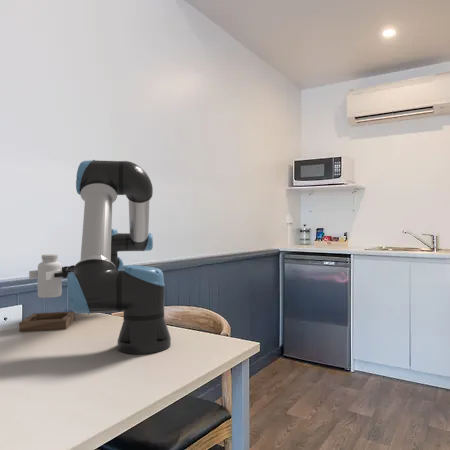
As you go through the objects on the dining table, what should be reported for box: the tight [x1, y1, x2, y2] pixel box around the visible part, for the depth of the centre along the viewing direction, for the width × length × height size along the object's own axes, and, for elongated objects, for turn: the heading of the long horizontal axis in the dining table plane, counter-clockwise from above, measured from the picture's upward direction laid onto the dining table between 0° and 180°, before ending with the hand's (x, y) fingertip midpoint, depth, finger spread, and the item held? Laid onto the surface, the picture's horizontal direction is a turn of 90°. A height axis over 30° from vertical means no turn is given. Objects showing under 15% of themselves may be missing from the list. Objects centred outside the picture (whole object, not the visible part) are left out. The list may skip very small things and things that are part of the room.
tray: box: [18, 311, 76, 333], centre depth 145 cm, size 15×15×3 cm
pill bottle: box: [37, 253, 63, 299], centre depth 145 cm, size 8×8×15 cm
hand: (37, 275), depth 141 cm, fingers closed on pill bottle, 8 cm apart
